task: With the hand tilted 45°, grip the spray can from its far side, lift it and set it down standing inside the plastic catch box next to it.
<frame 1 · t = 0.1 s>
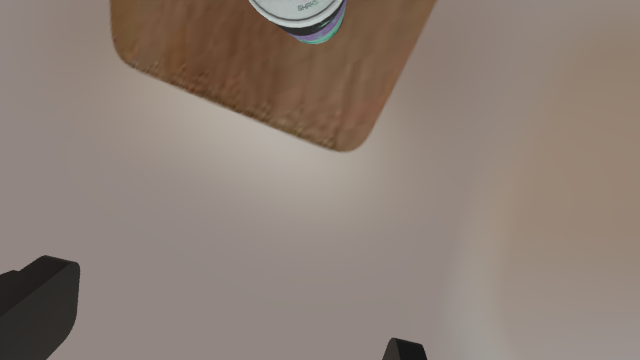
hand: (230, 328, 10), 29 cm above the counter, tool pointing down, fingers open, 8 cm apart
spray can: (313, 11, 35), on the counter
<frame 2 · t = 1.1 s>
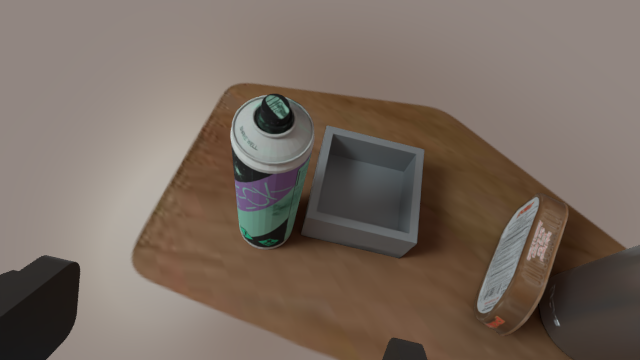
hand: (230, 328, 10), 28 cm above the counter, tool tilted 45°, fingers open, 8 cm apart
tin: (495, 270, 43), on the counter
catch box: (357, 201, 44), on the counter
spray can: (266, 224, 41), on the counter
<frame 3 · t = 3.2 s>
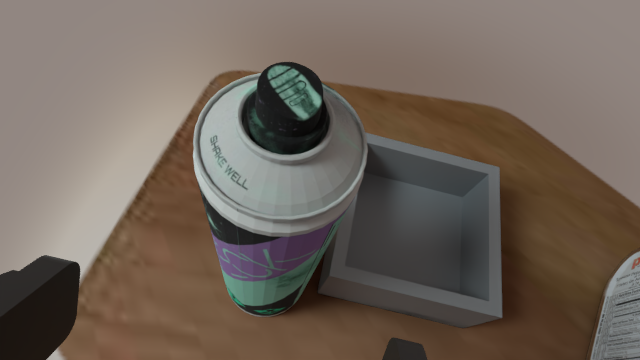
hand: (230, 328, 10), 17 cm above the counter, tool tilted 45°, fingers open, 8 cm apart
tin: (600, 344, 29), on the counter
catch box: (398, 240, 30), on the counter
spray can: (266, 276, 28), on the counter
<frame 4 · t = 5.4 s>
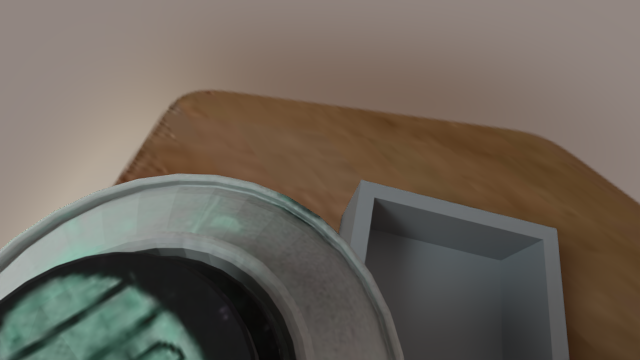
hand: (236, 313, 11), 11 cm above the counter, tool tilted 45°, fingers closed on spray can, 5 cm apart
catch box: (416, 322, 22), on the counter
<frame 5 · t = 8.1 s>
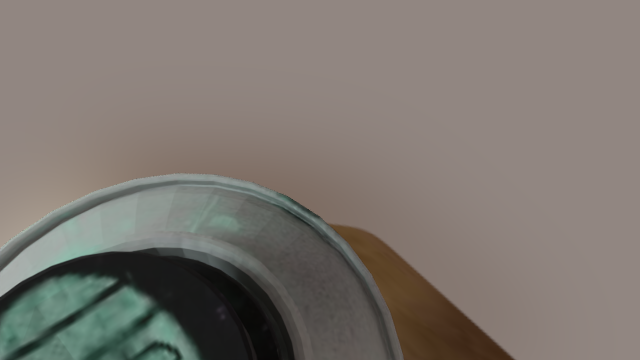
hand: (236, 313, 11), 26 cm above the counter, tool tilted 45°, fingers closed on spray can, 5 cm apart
when the fingers open (14 cm above the counter, at t = 10.9 s): spray can drops 1 cm, resting on catch box.
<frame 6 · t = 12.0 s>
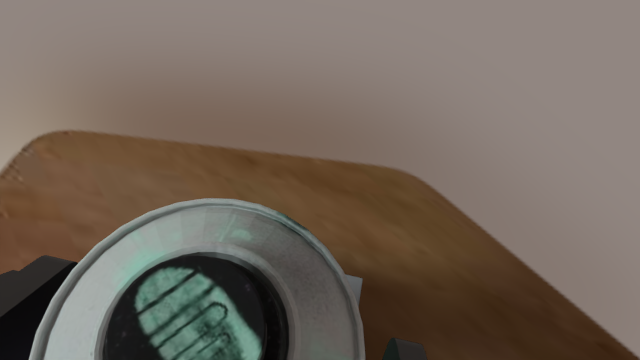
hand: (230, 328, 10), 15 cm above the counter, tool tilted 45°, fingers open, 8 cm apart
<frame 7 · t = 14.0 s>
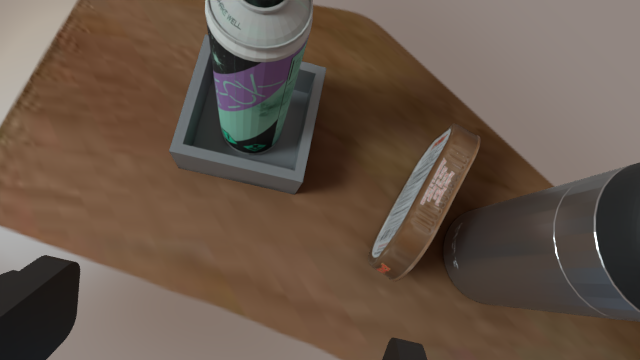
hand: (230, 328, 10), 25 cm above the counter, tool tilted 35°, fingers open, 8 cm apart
tin: (402, 206, 39), on the counter
catch box: (251, 128, 37), on the counter
spray can: (251, 128, 37), point 1 cm above the counter, touching catch box
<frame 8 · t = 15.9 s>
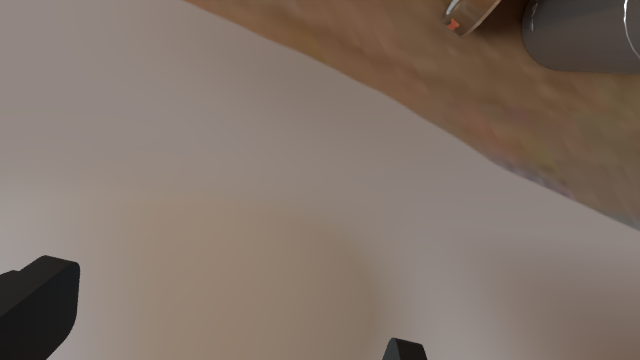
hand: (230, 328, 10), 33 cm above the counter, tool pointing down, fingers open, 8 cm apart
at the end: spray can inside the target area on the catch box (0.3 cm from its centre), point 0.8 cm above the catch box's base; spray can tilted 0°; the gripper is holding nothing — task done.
